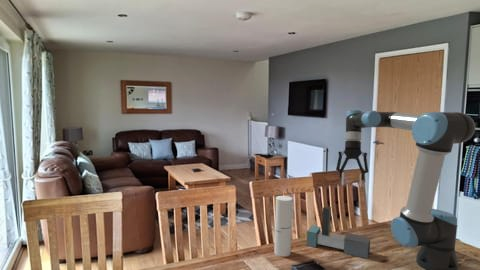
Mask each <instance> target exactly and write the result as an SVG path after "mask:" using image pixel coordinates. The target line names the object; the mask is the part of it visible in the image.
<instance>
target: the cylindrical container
mask: <svg viewBox="0 0 480 270" xmlns="http://www.w3.org/2000/svg"><path fill="white" fill-rule="evenodd" d="M274 214H275V215H274V216H275V218H274V219H275V222H274V254H275V255H276V256H278V257H283V258H284V257H285V258H286V257H289V256H290V255H291V248H292V224H293V223H292V219H293V197H292V196H288V195H277V196H276V197H275V213H274Z"/></svg>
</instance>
